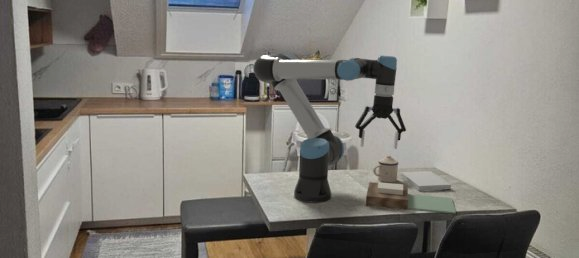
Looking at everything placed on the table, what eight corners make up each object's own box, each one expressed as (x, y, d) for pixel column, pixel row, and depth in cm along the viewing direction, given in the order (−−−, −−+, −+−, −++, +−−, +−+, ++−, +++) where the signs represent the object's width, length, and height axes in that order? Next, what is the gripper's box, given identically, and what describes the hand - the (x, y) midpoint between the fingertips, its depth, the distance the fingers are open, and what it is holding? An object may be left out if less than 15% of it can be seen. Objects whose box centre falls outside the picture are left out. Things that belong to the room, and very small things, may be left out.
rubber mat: (407, 209, 204) (407, 207, 204) (406, 195, 221) (407, 193, 221) (455, 213, 200) (455, 212, 200) (451, 199, 218) (451, 197, 218)
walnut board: (365, 205, 206) (366, 196, 206) (368, 191, 226) (369, 182, 225) (407, 209, 203) (408, 200, 202) (406, 194, 222) (407, 185, 222)
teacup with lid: (390, 176, 249) (392, 152, 247) (401, 182, 240) (402, 157, 238) (368, 178, 245) (369, 154, 243) (377, 184, 236) (379, 158, 234)
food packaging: (450, 191, 231) (429, 177, 250) (450, 184, 230) (430, 171, 249) (418, 193, 228) (400, 179, 247) (419, 185, 227) (400, 172, 247)
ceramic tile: (377, 192, 210) (377, 187, 210) (378, 186, 218) (378, 182, 218) (402, 194, 209) (403, 190, 208) (402, 189, 216) (403, 184, 216)
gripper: (354, 94, 205) (349, 147, 209) (417, 98, 206) (411, 151, 210) (351, 91, 212) (346, 142, 217) (412, 95, 213) (406, 146, 217)
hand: (378, 147), depth 213 cm, fingers open, 13 cm apart
